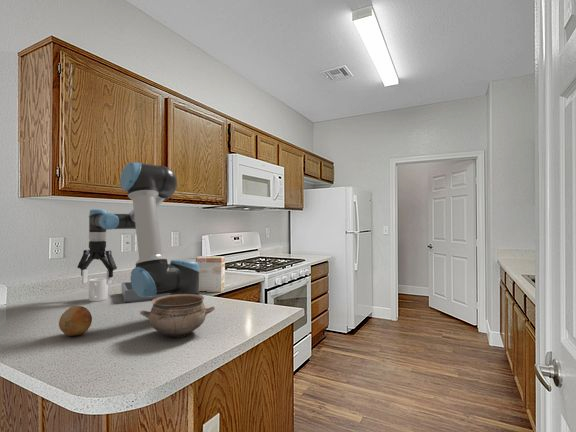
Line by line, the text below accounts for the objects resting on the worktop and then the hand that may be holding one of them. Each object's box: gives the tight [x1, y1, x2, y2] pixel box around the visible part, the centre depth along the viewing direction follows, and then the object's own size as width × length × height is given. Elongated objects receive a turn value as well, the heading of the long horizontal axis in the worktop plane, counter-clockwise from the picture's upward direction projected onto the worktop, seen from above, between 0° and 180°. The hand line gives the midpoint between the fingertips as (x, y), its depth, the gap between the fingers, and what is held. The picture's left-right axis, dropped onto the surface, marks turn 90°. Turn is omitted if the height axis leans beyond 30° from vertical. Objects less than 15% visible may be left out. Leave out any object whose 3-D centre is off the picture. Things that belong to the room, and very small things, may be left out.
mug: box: [88, 277, 109, 303], centre depth 168 cm, size 12×8×10 cm
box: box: [121, 281, 170, 304], centre depth 180 cm, size 24×24×6 cm
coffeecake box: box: [195, 255, 226, 293], centre depth 193 cm, size 15×7×20 cm, turn 84°
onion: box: [58, 305, 93, 337], centre depth 117 cm, size 10×10×10 cm
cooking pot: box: [139, 294, 215, 338], centre depth 119 cm, size 25×19×12 cm
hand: (96, 283), depth 168 cm, fingers open, 13 cm apart
